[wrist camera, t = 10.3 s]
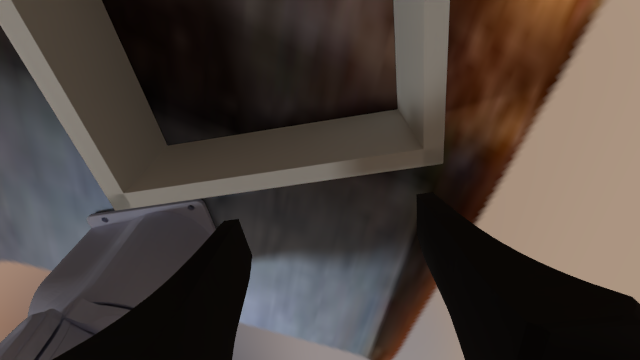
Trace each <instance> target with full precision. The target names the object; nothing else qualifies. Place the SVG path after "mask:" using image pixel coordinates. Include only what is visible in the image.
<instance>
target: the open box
mask: <svg viewBox="0 0 640 360" xmlns="http://www.w3.org/2000/svg"><path fill="white" fill-rule="evenodd" d="M449 9H450V0H394V25H395V51H396V78H397V104H398V109H396V110H390V111H383V112H377V113H371V114H364V115H358V116H352V117H345V118H339V119H333V120H326V121H320V122H314V123H308V124H301V125H295V126H289V127H282V128H276V129H270V130H263V131H257V132H251V133H244V134H238V135H232V136H225V137H219V138H213V139H206V140H200V141H194V142H187V143H181V144H175V145H169V146H167V144H166V141H165V139H164V137H163V135H162V132H161V130H160V128H159V126H158V124H157V121H156V119H155V117H154V115H153V113H152V110H151V108H150V106H149V104H148V102H147V99H146V97H145V95H144V93H143V90H142V88H141V86H140V84H139V82H138V79H137V77H136V75H135V73H134V71H133V68H132V66H131V64H130V62H129V60H128V57H127V55H126V53H125V51H124V49H123V46H122V44H121V42H120V40H119V37H118V35H117V33H116V31H115V29H114V26H113V24H112V22H111V20H110V18H109V15H108V13H107V11H106V9H105V7H104V4H103V2H102V0H0V25H1V27H2V28H3V30H4V32H5V33H6V35H7V37H8V38H9V40H10V41H11V43H12V45H13V46H14V48H15V49H16V51H17V53H18V54H19V56H20V58H21V59H22V61H23V62H24V64H25V66H26V67H27V69H28V71H29V72H30V74H31V75H32V77H33V79H34V80H35V82H36V83H37V85H38V87H39V88H40V90H41V92H42V93H43V95H44V96H45V98H46V100H47V101H48V103H49V104H50V106H51V108H52V109H53V111H54V113H55V114H56V116H57V117H58V119H59V121H60V122H61V124H62V125H63V127H64V129H65V130H66V132H67V134H68V135H69V137H70V138H71V140H72V142H73V143H74V145H75V147H76V148H77V150H78V151H79V153H80V155H81V156H82V158H83V159H84V161H85V163H86V164H87V166H88V168H89V169H90V171H91V172H92V174H93V176H94V177H95V179H96V180H97V182H98V184H99V185H100V187H101V189H102V190H103V192H104V193H105V195H106V197H107V198H108V200H109V201H110V203H111V205H112V206H113V208H114V210H115V211H117V210H124V209H131V208H138V207H145V206H152V205H159V204H165V203H172V202H179V201H186V200H193V199H200V198H207V197H214V196H221V195H228V194H235V193H242V192H249V191H256V190H263V189H270V188H277V187H284V186H290V185H297V184H304V183H311V182H318V181H325V180H332V179H339V178H346V177H353V176H360V175H367V174H374V173H381V172H388V171H395V170H402V169H409V168H415V167H422V166H429V165H436V164H443V152H444V129H445V105H446V81H447V57H448V33H449Z"/></svg>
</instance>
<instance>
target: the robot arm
mask: <svg viewBox="0 0 640 360" xmlns="http://www.w3.org/2000/svg"><path fill="white" fill-rule="evenodd" d="M190 205H192V206H194V207H190ZM106 218H107V219H106ZM87 222H88V224H89V225H90V226H91V229H90V230H89V232H88V233H87V234H86V235H85V236H84V237H83V238H82V239H81V240H80V241H79V242H78V244H77V245H76V246H75V247H74V248H73V249H72V250H71V251H70V252H69V253H68V254H67V255H66V257H65V258H64V259H63V260H62V261H61V262H60V263H59V264H58V265H57V266H56V267H55V269H54V270H53V271H52V272H51V273H50V274H49V275H48V276H47V277H46V278H45V279H44V281H43V282H42V283H41V284H40V286H39V287H38V289H37V291H36V292H35V294H34V296H33V299H32V301H31V304H30V308H29V312H28V317H27V318H26V319H25V320H24V321H23V322H22V323H20V324H19V325H18V326H17V327H16V328H15V329H14V330H13V331H12V332H11V333H10V334H9V335H8V336H7V337H6V338H5V339H4V340H3V341H2V342H1V343H0V360H232V356H233V348H234V342H235V337H236V331H237V327H238V323H239V319H240V315H241V311H242V307H243V303H244V299H245V295H246V291H247V287H248V283H249V279H250V271H251V261H252V254H251V251H250V249H249V246H248V243H247V241H246V238H245V235H244V233H243V230H242V227H241V225H240V222H239V219H235V220H228V221H224V222H223V223H222V224H221V225H220V226H219V227H218V228H217V229H216V228H215V226H214V223H213V221H212V219H211V216H210V214H209V212H208V209H207V207H206V205H205V203H204V201H202V200H200V199H193V200H186V201H179V202H172V203H165V204H159V205H152V206H145V207H138V208H131V209H124V210H117V211H109V212H102V213H95V214H91V215H90V216H89V217H88V218H87ZM417 236H418V239H419V243H420V246H421V249H422V252H423V255H424V258H425V260H426V262H427V265H428V267H429V269H430V271H431V274H432V276H433V278H434V280H435V282H436V284H437V287H438V289H439V291H440V293H441V295H442V298H443V300H444V302H445V304H446V306H447V309H448V311H449V314H450V316H451V319H452V322H453V325H454V328H455V331H456V333H457V337H458V340H459V342H460V345H461V349H462V352H463V355H464V358H465V360H640V304H639V303H638V302H637V301H636V300H635V299H634V298H633V297H631V296H628V295H625V294H622V293H619V292H616V291H613V290H610V289H607V288H604V287H600V286H597V285H594V284H591V283H589V282H586V281H583V280H581V279H578V278H576V277H573V276H570V275H568V274H565V273H563V272H561V271H558V270H556V269H553V268H551V267H549V266H547V265H544V264H542V263H540V262H538V261H536V260H534V259H532V258H529V257H527V256H526V255H523V254H521V253H519V252H517V251H516V250H514V249H512V248H511V247H509V246H507V245H505V244H503V243H502V242H500V241H498V240H497V239H495V238H493V237H492V236H490V235H489V234H487V233H485V232H484V231H482V230H481V229H479V228H478V227H477V226H475V225H474V224H472V223H471V222H470V221H468V220H467V219H466V218H464V217H463V216H462V215H460V214H459V213H458V212H456V211H455V210H454V209H453V208H451V207H450V206H449V205H448V204H446V203H445V202H444V201H443V200H442V199H440V198H439V197H438V196H437V195H435V194H434V193H433V192H431V193H424V194H417Z"/></svg>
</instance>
